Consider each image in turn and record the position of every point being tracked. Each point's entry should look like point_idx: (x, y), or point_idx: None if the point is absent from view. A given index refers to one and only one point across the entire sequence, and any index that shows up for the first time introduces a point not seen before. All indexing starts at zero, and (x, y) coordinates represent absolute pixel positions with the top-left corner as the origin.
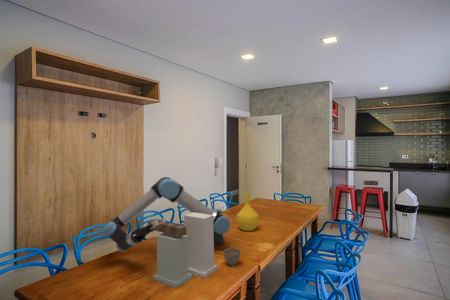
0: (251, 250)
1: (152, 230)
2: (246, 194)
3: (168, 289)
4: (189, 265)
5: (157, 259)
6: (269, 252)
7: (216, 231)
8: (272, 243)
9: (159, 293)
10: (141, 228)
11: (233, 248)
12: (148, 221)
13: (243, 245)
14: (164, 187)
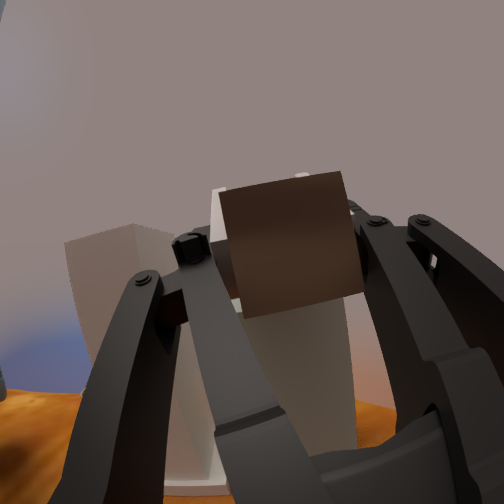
0: (39, 412)
1: (160, 494)
2: None
3: (361, 425)
4: (209, 456)
5: (355, 432)
6: (56, 393)
7: (5, 388)
8: (12, 396)
9: (395, 417)
10: (453, 236)
11: (82, 393)
12: (329, 174)
13: (6, 425)
14: (1, 2)
